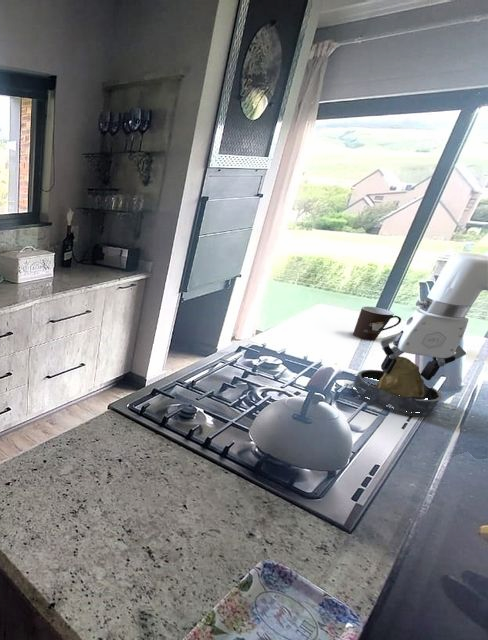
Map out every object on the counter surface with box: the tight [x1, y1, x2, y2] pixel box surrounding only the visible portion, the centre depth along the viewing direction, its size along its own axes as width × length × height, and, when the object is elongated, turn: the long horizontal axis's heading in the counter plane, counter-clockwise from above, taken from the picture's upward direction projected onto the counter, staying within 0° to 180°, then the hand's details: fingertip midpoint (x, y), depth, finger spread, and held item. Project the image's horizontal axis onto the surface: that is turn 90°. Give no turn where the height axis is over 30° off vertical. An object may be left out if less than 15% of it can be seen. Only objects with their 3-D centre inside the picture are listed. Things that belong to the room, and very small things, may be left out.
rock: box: [375, 355, 425, 397], centre depth 104 cm, size 11×9×10 cm
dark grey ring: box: [350, 369, 443, 417], centre depth 105 cm, size 16×16×4 cm
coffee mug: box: [352, 305, 402, 342], centre depth 142 cm, size 12×9×10 cm
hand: (404, 374), depth 103 cm, fingers closed on rock, 7 cm apart
